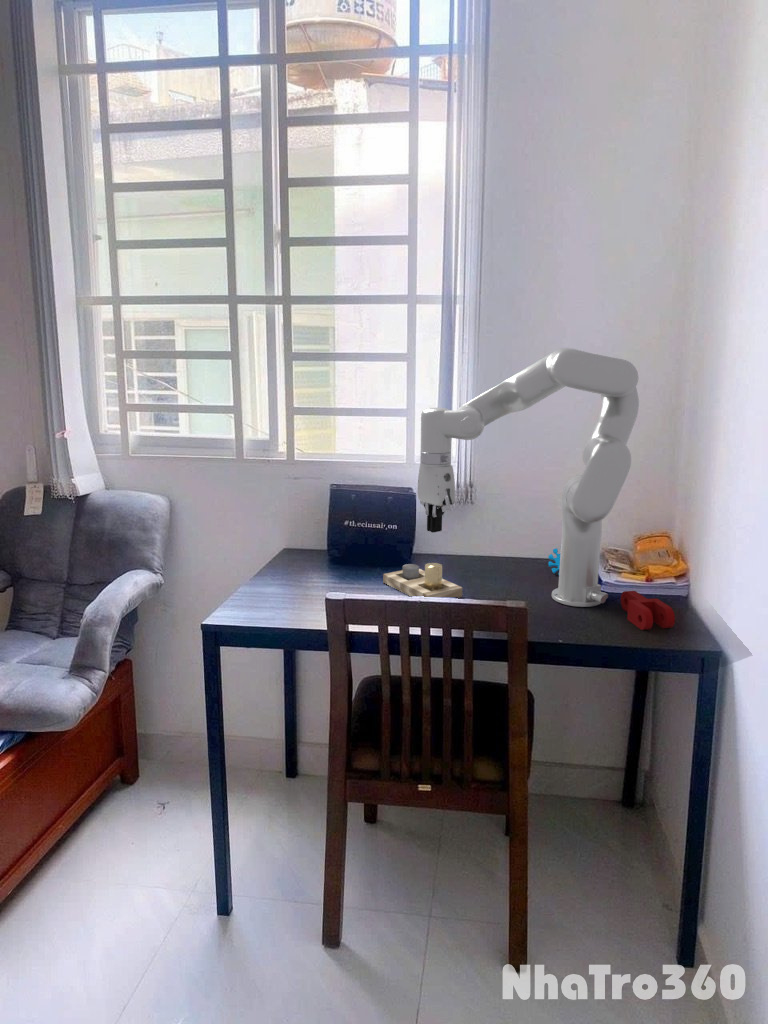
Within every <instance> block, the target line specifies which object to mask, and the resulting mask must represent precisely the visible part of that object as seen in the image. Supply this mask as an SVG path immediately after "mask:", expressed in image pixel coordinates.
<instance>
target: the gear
mask: <svg viewBox="0 0 768 1024" xmlns="http://www.w3.org/2000/svg"><path fill="white" fill-rule="evenodd" d="M552 552H553V554H555V556H556V557H554V555H553V554H552V553H550V554H549V555H548V559H549V560H550V561H548V562H547V563H548V567H550V568H551V567H553V568H551V571H552V574H556V573H557V572H559V569H560V553H559V551H558V548H556V547H555V548H554V549H552ZM551 560H552V561H554V562H555V563H554V562H552V561H551ZM555 567H556V568H555Z"/></svg>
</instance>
